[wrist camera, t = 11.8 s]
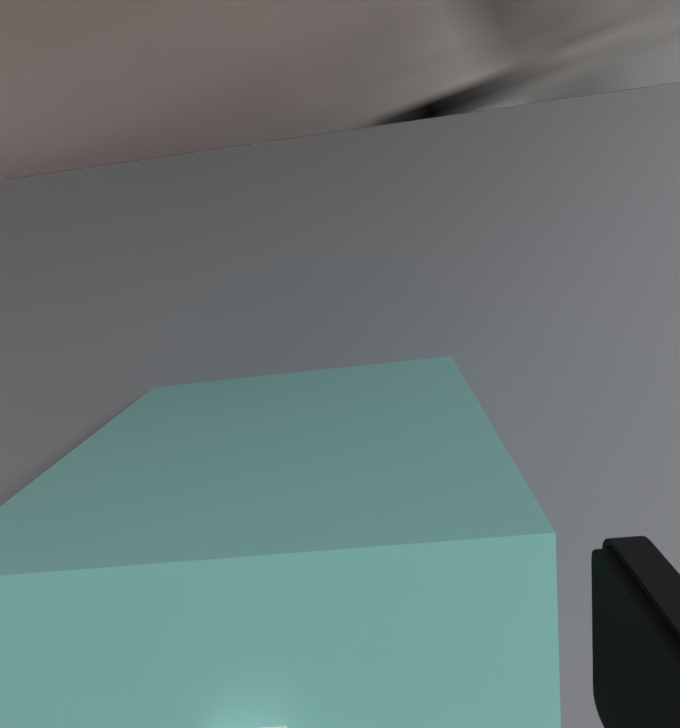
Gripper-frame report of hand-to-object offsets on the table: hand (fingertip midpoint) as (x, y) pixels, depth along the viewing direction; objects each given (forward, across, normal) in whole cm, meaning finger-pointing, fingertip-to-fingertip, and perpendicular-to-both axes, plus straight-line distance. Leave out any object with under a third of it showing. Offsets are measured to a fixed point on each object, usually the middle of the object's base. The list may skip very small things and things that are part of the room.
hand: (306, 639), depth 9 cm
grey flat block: (+4, 0, 0) cm, 5 cm away
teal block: (+3, 0, 0) cm, 3 cm away
